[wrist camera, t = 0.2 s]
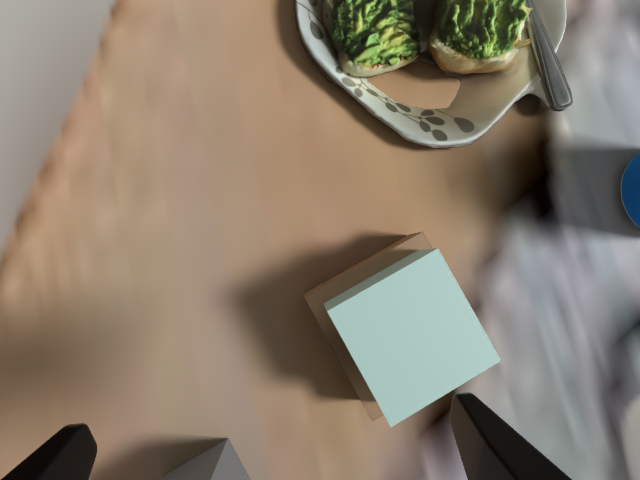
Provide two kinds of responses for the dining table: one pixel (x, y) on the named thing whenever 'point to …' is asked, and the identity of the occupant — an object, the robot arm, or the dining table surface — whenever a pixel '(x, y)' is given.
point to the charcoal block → (211, 465)
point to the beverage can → (632, 190)
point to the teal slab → (411, 333)
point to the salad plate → (440, 57)
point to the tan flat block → (346, 282)
